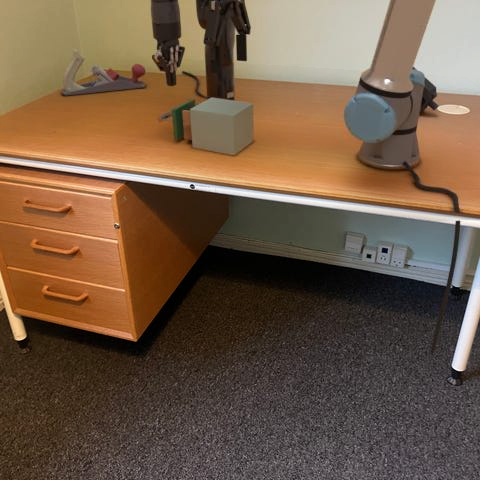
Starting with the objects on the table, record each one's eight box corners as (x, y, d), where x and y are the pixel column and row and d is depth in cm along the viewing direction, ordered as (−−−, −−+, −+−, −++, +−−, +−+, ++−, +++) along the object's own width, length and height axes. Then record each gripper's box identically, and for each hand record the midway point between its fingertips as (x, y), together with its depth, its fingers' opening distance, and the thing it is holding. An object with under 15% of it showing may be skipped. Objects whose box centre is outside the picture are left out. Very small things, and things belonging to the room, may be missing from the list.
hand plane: (62, 90, 197) (53, 48, 189) (145, 82, 205) (140, 41, 197) (62, 96, 191) (54, 53, 184) (148, 87, 199) (143, 45, 191)
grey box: (192, 147, 148) (189, 109, 142) (213, 134, 157) (211, 97, 151) (234, 155, 143) (233, 115, 137) (253, 141, 151) (253, 103, 146)
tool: (376, 92, 179) (403, 55, 168) (419, 129, 175) (449, 94, 164) (367, 96, 175) (394, 59, 164) (411, 135, 171) (441, 99, 160)
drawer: (156, 136, 153) (153, 106, 148) (176, 125, 161) (174, 96, 156) (210, 146, 146) (208, 115, 141) (228, 134, 154) (227, 103, 149)
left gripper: (168, 14, 146) (173, 78, 155) (139, 22, 136) (146, 90, 145) (191, 16, 143) (195, 81, 152) (163, 24, 133) (169, 93, 142)
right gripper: (236, -31, 137) (239, 55, 148) (184, -20, 118) (191, 77, 129) (263, -30, 134) (263, 57, 145) (213, -19, 115) (218, 80, 126)
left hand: (171, 85), depth 148 cm, fingers closed
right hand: (229, 66), depth 137 cm, fingers open, 13 cm apart
